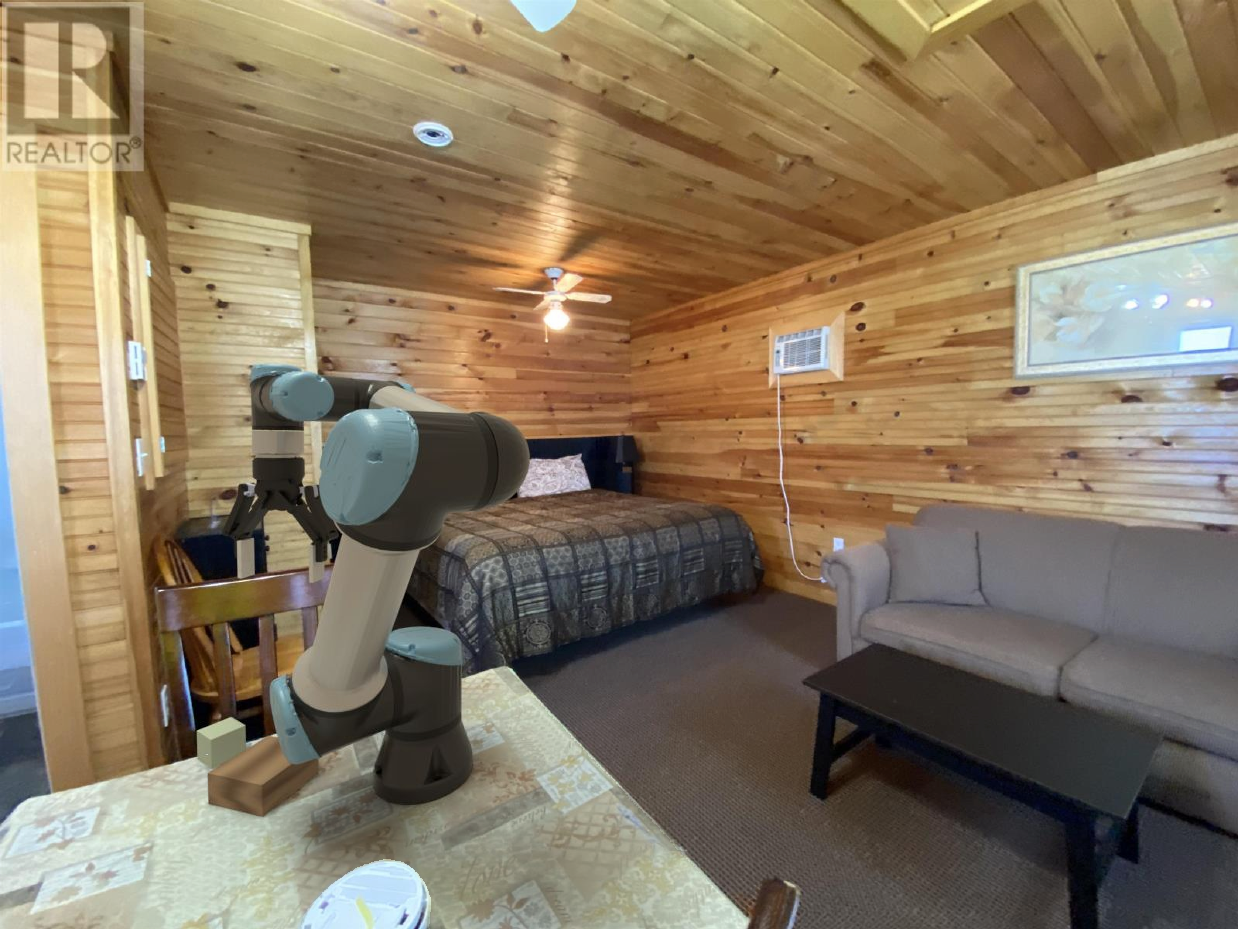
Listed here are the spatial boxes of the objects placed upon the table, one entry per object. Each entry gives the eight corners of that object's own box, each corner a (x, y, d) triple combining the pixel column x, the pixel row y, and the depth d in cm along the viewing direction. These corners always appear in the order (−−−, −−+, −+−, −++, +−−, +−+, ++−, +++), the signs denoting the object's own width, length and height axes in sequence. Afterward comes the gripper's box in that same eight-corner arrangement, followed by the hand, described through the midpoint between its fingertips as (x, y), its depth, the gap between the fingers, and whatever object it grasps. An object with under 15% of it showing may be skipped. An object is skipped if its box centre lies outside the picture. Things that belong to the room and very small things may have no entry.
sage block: (246, 753, 89) (245, 725, 89) (211, 769, 85) (210, 740, 84) (231, 744, 92) (231, 717, 91) (197, 759, 87) (196, 730, 87)
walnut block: (318, 775, 84) (318, 745, 84) (262, 819, 74) (261, 785, 74) (269, 764, 86) (268, 735, 86) (208, 805, 77) (207, 773, 76)
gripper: (359, 456, 91) (361, 576, 92) (233, 453, 94) (236, 569, 95) (330, 458, 83) (332, 588, 84) (194, 455, 87) (197, 580, 88)
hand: (281, 578), depth 90 cm, fingers open, 13 cm apart
